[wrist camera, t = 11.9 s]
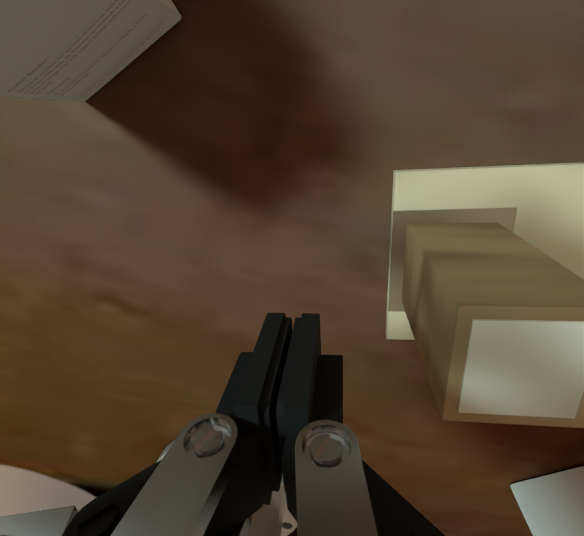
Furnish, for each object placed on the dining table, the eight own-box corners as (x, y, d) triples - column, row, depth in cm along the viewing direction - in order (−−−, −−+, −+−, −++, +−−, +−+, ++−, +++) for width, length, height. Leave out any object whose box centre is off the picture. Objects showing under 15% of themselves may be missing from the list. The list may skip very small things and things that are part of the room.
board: (674, 338, 20) (685, 345, 20) (385, 333, 22) (386, 340, 22) (750, 155, 16) (767, 156, 16) (393, 170, 19) (395, 172, 18)
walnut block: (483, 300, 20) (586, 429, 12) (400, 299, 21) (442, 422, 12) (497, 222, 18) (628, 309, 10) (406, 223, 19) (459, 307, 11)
